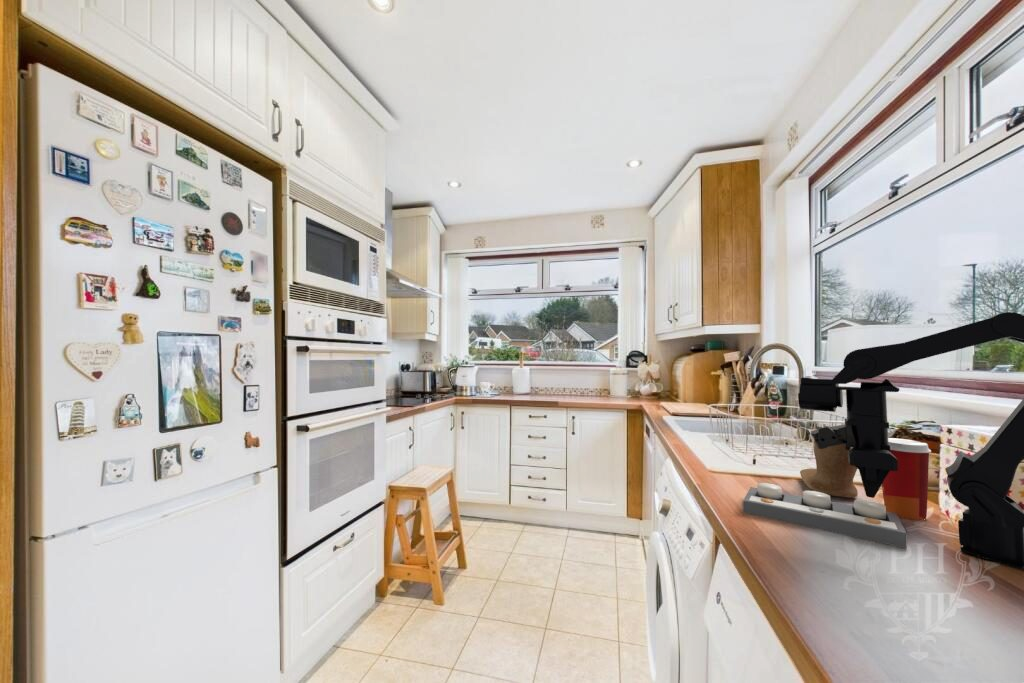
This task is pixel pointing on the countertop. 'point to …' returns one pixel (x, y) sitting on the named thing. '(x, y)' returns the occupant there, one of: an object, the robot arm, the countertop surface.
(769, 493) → the button
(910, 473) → the coffee cup
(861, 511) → the button
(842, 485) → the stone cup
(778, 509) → the button board
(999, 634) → the countertop surface
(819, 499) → the button middle
